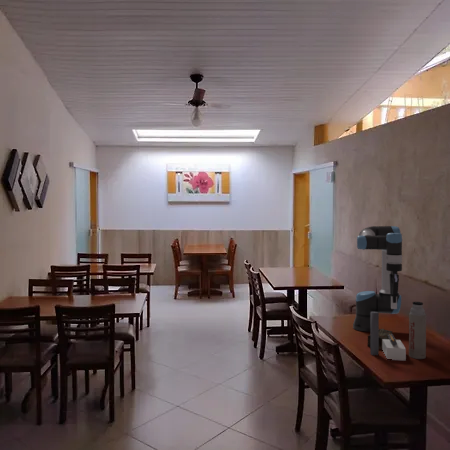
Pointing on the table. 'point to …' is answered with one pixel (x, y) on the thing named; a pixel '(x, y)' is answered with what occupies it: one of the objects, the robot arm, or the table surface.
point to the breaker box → (394, 350)
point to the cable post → (374, 334)
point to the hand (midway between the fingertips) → (393, 308)
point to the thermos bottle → (417, 331)
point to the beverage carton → (380, 336)
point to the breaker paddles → (392, 339)
